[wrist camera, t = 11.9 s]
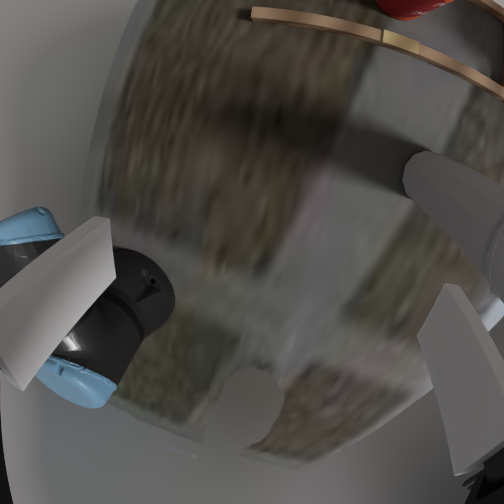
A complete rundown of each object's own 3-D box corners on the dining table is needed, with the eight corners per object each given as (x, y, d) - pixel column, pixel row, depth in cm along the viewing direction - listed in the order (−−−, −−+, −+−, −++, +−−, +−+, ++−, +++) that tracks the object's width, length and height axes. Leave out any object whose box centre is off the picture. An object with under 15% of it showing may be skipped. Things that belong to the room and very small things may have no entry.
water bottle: (400, 207, 34) (501, 349, 12) (397, 147, 31) (538, 236, 9) (458, 202, 32) (574, 318, 10) (458, 146, 29) (605, 224, 7)
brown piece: (253, 22, 26) (249, 16, 24) (268, -65, 19) (266, -74, 17) (507, 105, 24) (517, 106, 21) (509, 19, 16) (518, 17, 14)
